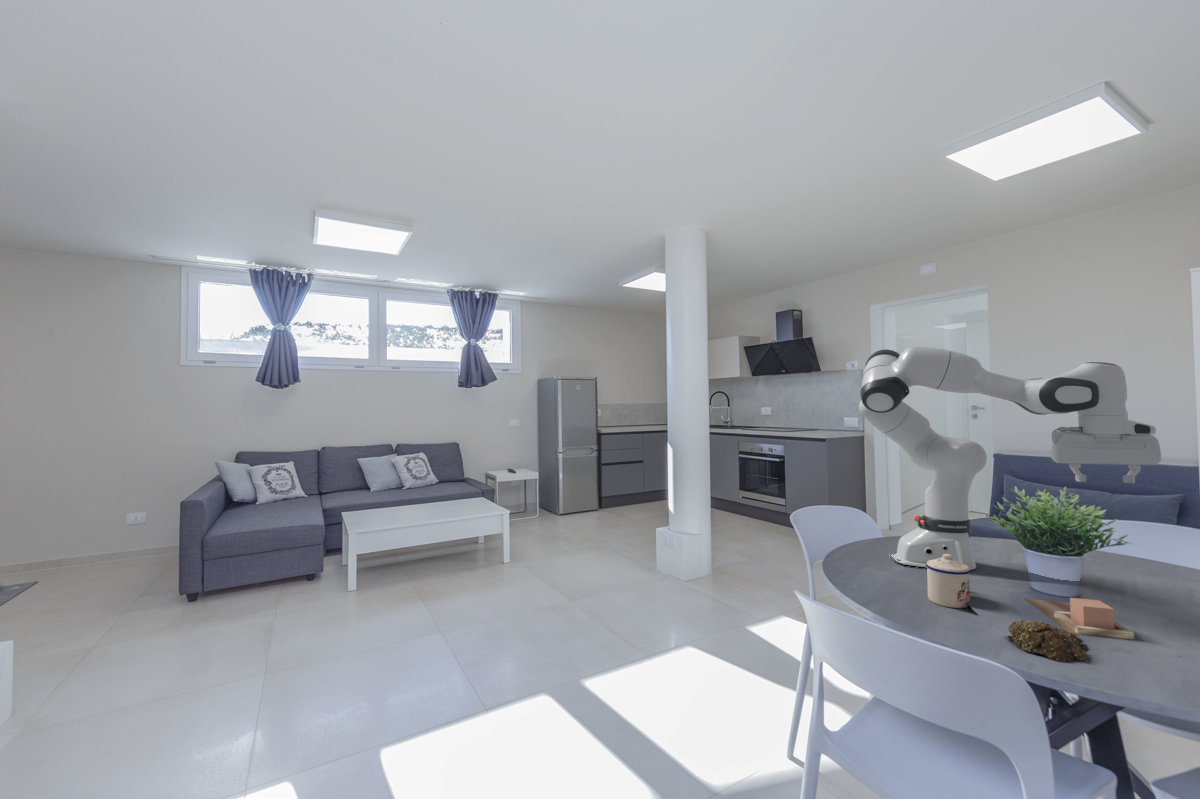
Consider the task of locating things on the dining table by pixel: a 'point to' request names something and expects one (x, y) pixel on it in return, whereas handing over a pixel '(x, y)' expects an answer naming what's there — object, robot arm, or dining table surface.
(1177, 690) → the dining table surface
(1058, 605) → the assembly board
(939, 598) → the teacup with lid
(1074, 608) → the terracotta cube
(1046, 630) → the bread roll
